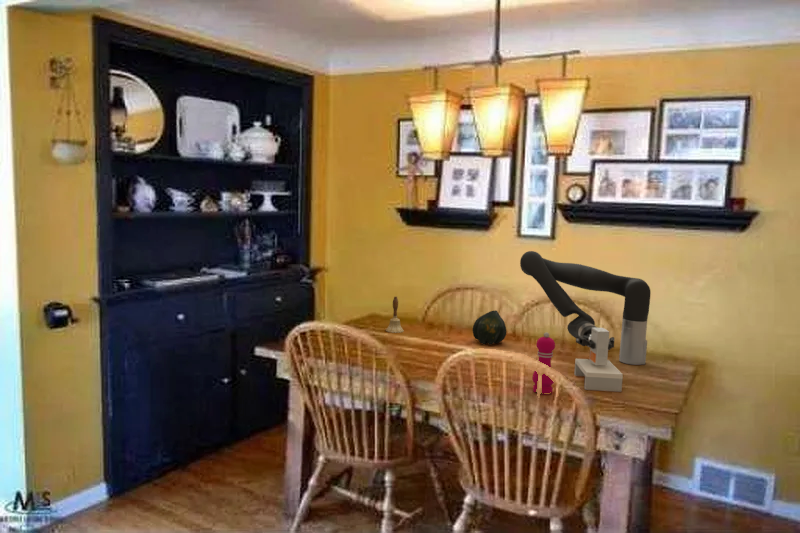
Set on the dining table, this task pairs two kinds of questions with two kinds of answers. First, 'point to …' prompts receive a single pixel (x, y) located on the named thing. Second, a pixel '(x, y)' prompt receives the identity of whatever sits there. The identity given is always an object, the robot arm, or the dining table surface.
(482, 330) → the squash
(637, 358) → the robot arm
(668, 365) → the dining table surface
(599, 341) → the skincare box
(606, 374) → the shelf bench
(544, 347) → the pepper mill
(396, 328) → the hand bell
